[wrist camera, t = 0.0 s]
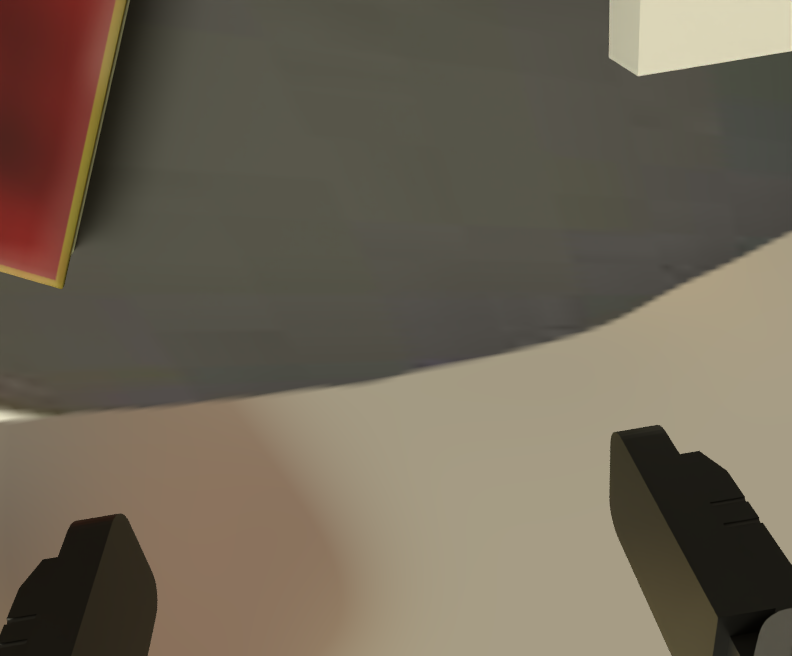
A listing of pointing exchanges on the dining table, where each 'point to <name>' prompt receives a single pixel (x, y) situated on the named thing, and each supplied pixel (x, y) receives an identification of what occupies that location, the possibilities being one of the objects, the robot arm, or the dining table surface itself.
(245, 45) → the dining table surface
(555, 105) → the dining table surface
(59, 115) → the hardcover book
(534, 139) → the dining table surface
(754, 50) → the scale base
